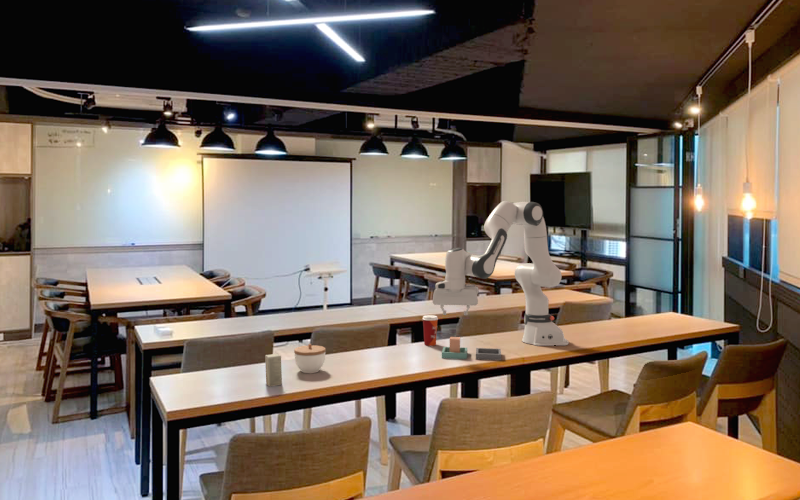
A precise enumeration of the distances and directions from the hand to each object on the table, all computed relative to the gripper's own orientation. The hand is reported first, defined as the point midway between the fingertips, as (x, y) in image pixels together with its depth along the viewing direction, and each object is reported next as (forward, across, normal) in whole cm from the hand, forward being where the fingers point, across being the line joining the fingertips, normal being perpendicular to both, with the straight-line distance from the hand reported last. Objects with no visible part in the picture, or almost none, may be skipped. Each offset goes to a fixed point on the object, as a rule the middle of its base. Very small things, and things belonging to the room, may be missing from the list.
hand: (455, 314), depth 260 cm
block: (+18, 0, 0) cm, 19 cm away
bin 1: (+18, 0, 0) cm, 19 cm away
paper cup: (+19, +13, -20) cm, 30 cm away
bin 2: (+19, -15, 0) cm, 24 cm away
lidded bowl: (+18, +57, +34) cm, 69 cm away
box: (+18, +65, +54) cm, 87 cm away
